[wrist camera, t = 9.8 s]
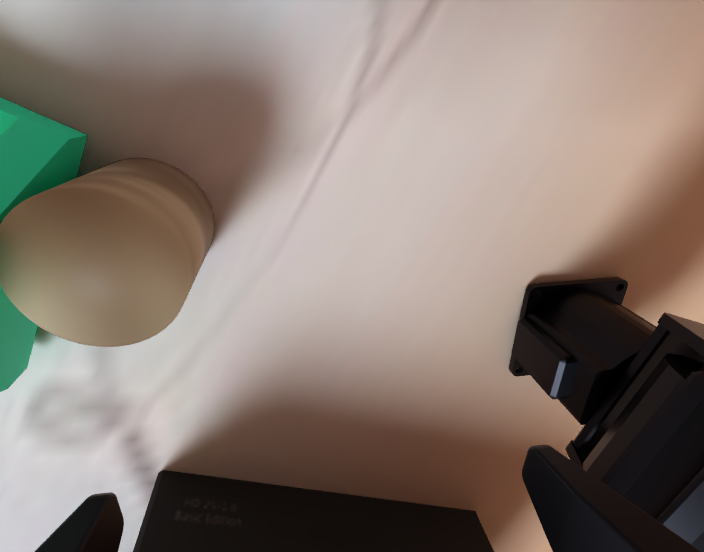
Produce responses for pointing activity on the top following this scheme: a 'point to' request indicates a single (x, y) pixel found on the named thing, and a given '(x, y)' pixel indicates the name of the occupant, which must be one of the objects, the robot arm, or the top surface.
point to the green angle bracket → (18, 185)
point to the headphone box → (295, 520)
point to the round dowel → (107, 252)
